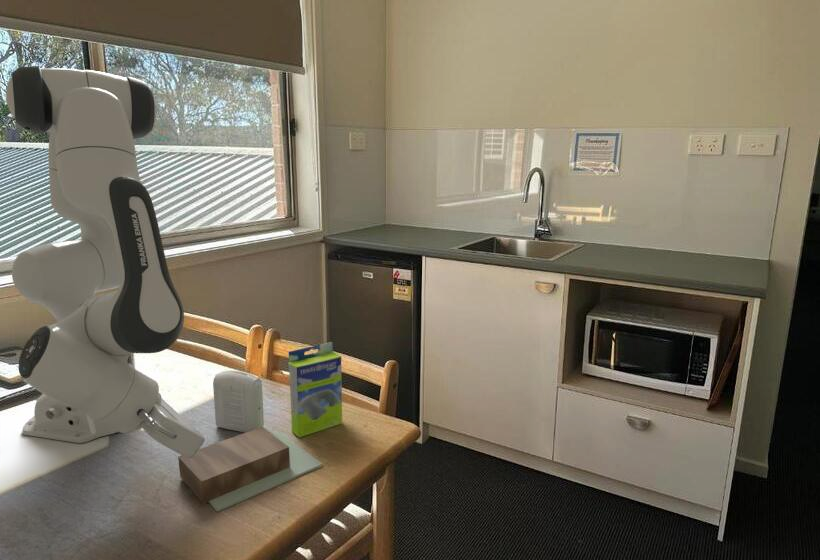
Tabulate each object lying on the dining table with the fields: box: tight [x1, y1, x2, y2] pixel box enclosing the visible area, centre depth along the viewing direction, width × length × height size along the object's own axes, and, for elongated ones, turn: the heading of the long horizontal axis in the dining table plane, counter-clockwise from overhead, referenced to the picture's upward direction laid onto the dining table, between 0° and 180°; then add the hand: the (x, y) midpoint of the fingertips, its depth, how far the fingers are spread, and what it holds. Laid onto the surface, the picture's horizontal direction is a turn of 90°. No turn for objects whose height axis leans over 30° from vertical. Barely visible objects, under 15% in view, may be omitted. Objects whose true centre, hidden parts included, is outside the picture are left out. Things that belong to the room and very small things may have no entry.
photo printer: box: [212, 370, 265, 433], centre depth 116 cm, size 10×4×12 cm, turn 72°
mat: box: [208, 431, 323, 513], centre depth 102 cm, size 20×16×1 cm
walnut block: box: [177, 426, 290, 504], centre depth 100 cm, size 4×10×16 cm
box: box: [287, 341, 343, 438], centre depth 116 cm, size 10×4×17 cm, turn 128°
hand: (197, 438), depth 94 cm, fingers closed
